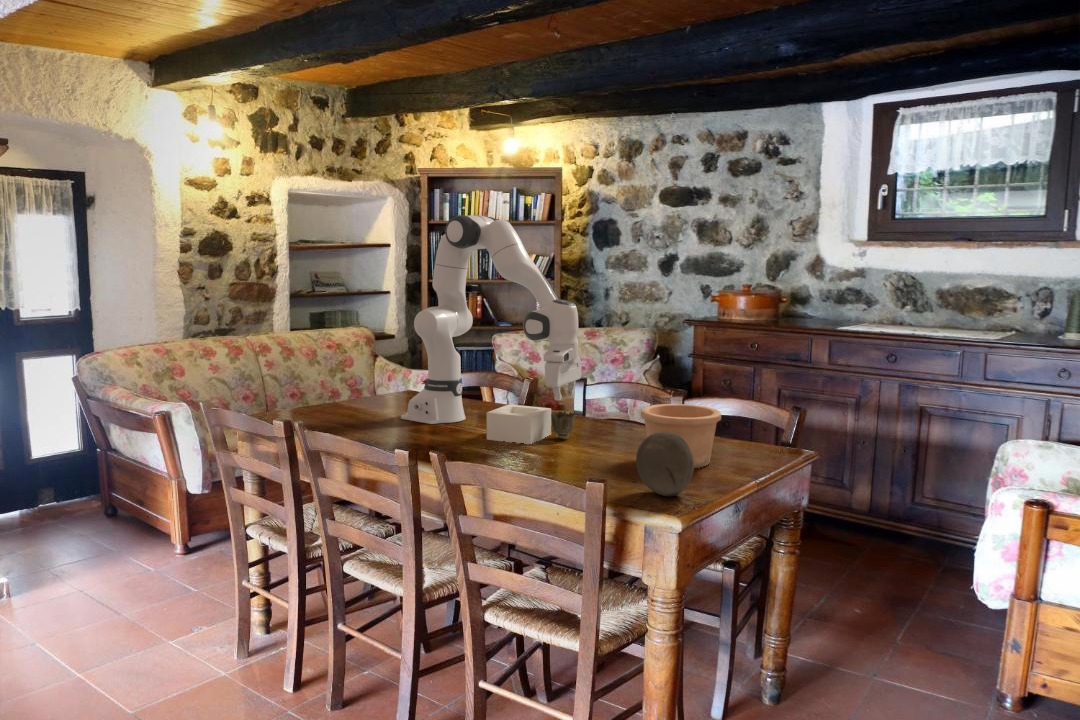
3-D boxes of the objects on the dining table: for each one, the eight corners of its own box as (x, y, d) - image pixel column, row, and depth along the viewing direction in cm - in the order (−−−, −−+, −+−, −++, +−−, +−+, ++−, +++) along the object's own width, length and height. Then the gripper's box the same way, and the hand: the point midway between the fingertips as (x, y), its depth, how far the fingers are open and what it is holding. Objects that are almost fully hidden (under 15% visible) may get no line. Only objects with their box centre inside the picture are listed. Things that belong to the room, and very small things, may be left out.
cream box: (486, 439, 253) (486, 412, 252) (508, 430, 267) (508, 404, 266) (530, 444, 247) (530, 416, 246) (551, 434, 261) (551, 408, 260)
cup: (546, 439, 254) (546, 414, 253) (557, 435, 260) (557, 410, 259) (568, 442, 250) (568, 416, 249) (578, 437, 257) (578, 412, 256)
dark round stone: (702, 492, 200) (705, 431, 198) (678, 507, 188) (679, 442, 186) (650, 482, 208) (652, 424, 206) (623, 496, 196) (624, 434, 194)
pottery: (665, 448, 244) (666, 400, 242) (733, 460, 230) (735, 410, 228) (624, 462, 227) (625, 411, 225) (695, 476, 213) (697, 422, 212)
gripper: (567, 349, 262) (567, 392, 264) (540, 356, 244) (541, 402, 246) (586, 349, 260) (586, 393, 261) (560, 357, 241) (560, 403, 243)
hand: (564, 397), depth 253 cm, fingers open, 8 cm apart
